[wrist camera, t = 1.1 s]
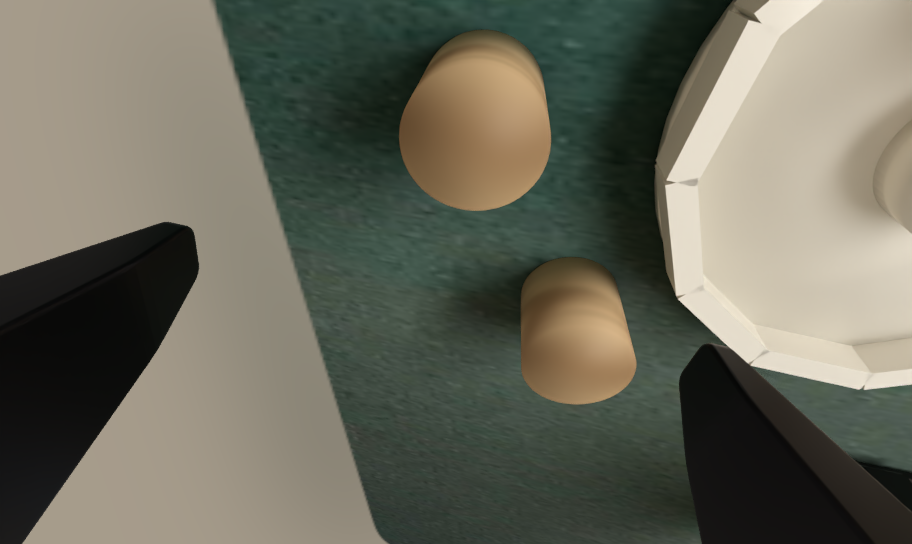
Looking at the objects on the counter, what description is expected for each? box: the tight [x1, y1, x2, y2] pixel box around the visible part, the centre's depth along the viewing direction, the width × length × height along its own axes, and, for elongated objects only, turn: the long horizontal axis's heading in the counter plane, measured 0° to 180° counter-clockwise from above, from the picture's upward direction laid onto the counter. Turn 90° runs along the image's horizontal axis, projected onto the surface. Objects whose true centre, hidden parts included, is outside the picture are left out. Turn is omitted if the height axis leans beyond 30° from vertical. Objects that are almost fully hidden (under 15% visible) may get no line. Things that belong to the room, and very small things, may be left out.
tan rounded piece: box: [399, 30, 551, 211], centre depth 16 cm, size 4×4×4 cm
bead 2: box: [521, 257, 636, 404], centre depth 21 cm, size 4×4×4 cm
